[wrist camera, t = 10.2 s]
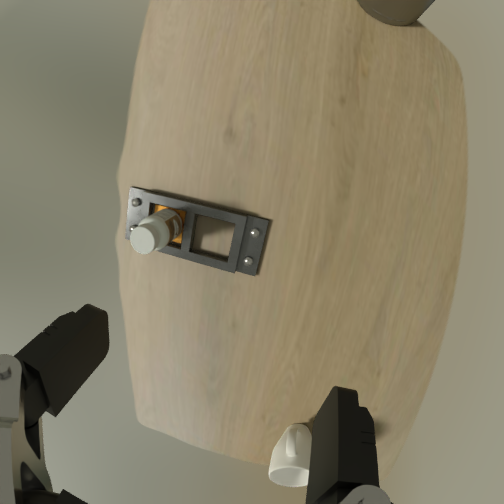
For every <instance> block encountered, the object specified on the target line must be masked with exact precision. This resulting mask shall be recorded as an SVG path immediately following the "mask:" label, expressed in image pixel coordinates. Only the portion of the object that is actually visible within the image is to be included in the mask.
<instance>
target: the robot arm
mask: <svg viewBox="0 0 504 504" xmlns="http://www.w3.org/2000/svg"><path fill="white" fill-rule="evenodd" d="M357 1H358V2H359V4H360V6H361V7H362V8H363V9H364V10H365V11H366V12H367V13H368V14H369V15H371V16H372V17H374V18H375V19H377V20H379V21H381V22H383V23H386V24H390V25H396V26H403V25H408V24H411V23H413V22H415V21H416V20H417V19H418V18H419V17H420V16H421V15H422V13H424V11H425V10H426V9H427V8H428V7H429V6H430V5H431V4H432V3H433V2H434V1H435V0H357ZM108 329H109V328H108V315H107V312H106V311H104V310H102V309H100V308H97V307H95V306H93V305H91V304H86V305H84V306H83V307H82V308H81V309H80V310H78V311H77V312H76V313H75V312H73V311H72V312H69V313H67V314H65V315H62V316H60V317H58V318H57V319H56V320H55V321H54V322H52V324H50V326H48V327H47V328H45V329H44V330H43V332H41V333H40V334H38V335H37V336H36V337H35V338H34V339H33V340H32V341H30V342H29V343H28V344H27V345H26V346H25V347H24V348H23V349H21V350H20V351H19V352H18V353H17V354H16V355H14V356H11V355H7V354H1V355H0V504H88V503H86V502H84V501H82V500H81V499H79V498H77V497H76V496H74V495H72V494H70V493H69V492H67V491H66V490H64V489H63V490H62V491H61V493H60V494H58V493H54V492H53V489H52V484H51V480H50V476H49V474H48V471H47V469H46V464H45V457H44V444H43V429H42V417H41V416H42V414H43V413H44V412H45V411H47V412H49V413H50V414H52V415H53V416H55V417H56V416H57V415H58V414H59V413H60V411H61V410H62V409H63V407H64V406H65V405H66V404H67V403H68V402H69V400H70V399H71V398H72V397H73V395H74V394H75V393H76V392H77V390H78V389H79V388H80V387H81V386H82V384H83V383H84V382H85V381H86V380H87V379H88V377H89V376H90V375H91V374H92V373H93V371H94V370H95V369H96V368H97V367H98V366H99V364H100V363H101V362H102V361H103V360H104V358H105V357H106V355H107V353H108V350H109V330H108ZM374 433H375V430H374V421H373V418H372V417H371V415H370V413H369V411H368V409H367V408H366V407H360V406H359V403H358V393H357V391H356V390H353V389H348V388H343V387H338V386H334V387H333V388H332V390H331V391H330V393H329V395H328V397H327V398H326V400H325V401H324V403H323V405H322V406H321V408H320V410H319V411H318V413H317V415H316V417H315V420H314V424H313V429H312V442H311V455H310V466H309V476H308V486H307V495H306V504H393V503H392V502H390V499H389V497H388V495H387V494H386V493H385V492H384V491H383V490H382V489H380V486H379V476H378V463H377V451H376V446H375V444H376V440H375V435H374Z"/></svg>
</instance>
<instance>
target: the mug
mask: <svg viewBox="0 0 504 504" xmlns="http://www.w3.org/2000/svg"><path fill="white" fill-rule="evenodd" d="M311 442H312V435H311V433H310V431H309V429H308V427H307V426H305V425H303V424H292V425H290V426H288V428H287V429H286V430H285V432H284V433H283V435H282V436H281V438H280V439H279V441H278V442H277V444H276V446H275V448H274V450H273V453H272V457H271V462H270V467H269V478H270V479H271V481H273V482H274V483H276V484H279V485H282V486H287V487H301V486H306V485H308V476H309V466H310V455H311Z"/></svg>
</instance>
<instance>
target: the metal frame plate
mask: <svg viewBox="0 0 504 504" xmlns="http://www.w3.org/2000/svg"><path fill="white" fill-rule="evenodd" d="M153 203H156V204H155V212H154V213H156V212H158V211H160V210H162V209H171V210H174V211H175V212H177V213H178V215H179V216H180V218H181V220H182V231H181V233H180V235H179V236H178V237H177V238H175V239H174V240H173V241H174V242H177V243H182V244H181V246H179V245H176V244H172V243H169V244H168V245H166V246H165V247H164V248H162V249H160V250H157V251H159V252H162V253H166V254H169V255H173V256H176V257H179V258H183V259H186V260H190V261H193V262H197V263H200V264H204V265H207V266H211V267H214V268H218V269H221V270H225V271H228V272H232V273H235V271H238V272H241V273H245V274H249V275H252V276H255V275H256V271H257V267H258V263H259V259H260V255H261V251H262V247H263V243H264V239H265V235H266V231H267V226H268V222H269V220H267V219H263V218H259V217H255V216H251V215H247V214H243V213H239V212H235V211H232V210H228V209H224V208H220V207H215V206H211V205H207V204H203V203H199V202H195V201H191V200H187V199H182V198H178V197H174V196H170V195H165V194H161V193H157V192H152V191H148V190H144V189H139V188H135V187H130V191H129V201H128V211H127V223H126V237H125V239H127V240H130V235H131V232H132V230H133V229H134V228H136V227H137V226H138V225H139V223H140V222H141V221H142V220H143V219H144V218H146V217H148V216H150V215H152V210H153ZM158 204H160V205H158ZM162 205H164V206H162ZM166 206H168V207H166ZM170 207H172V208H170ZM174 208H176V209H174ZM178 209H180V210H178ZM182 210H184V211H182ZM197 214H200V215H204V216H208V217H212V218H216V219H220V220H223V221H227V222H231V223H235V229H234V234H233V238H232V243H231V248H230V253H229V258H228V259H226V258H222V257H219V256H215V255H211V254H208V253H204V252H201V251H197V250H194V249H192V245H193V239H194V232H195V226H196V220H197ZM185 215H186V217H185ZM184 222H185V223H184ZM183 229H184V230H183ZM182 236H183V237H182Z"/></svg>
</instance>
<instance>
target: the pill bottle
mask: <svg viewBox="0 0 504 504" xmlns="http://www.w3.org/2000/svg"><path fill="white" fill-rule="evenodd" d="M181 231H182V220H181V218H180V216H179V215H178V213H177V212H175V211H174V210H171V209H162V210H160V211H158V212H156V213H154V214H152V215H150V216H148V217H146V218H144V219H143V220H142V221H141V222H140V223H139V225H138V226H137V227H136V228H134V229H133V230H132V232H131V235H130V241H131V244H132V247H133V248H134V249H135V250H136V251H137V252H138V253H140V254H149V253H151V252H152V251H157V250H160V249H162V248H164V247H165V246H166V245H168V244H169V243H170V242H171V241H173V240H174V239H175V238H177V237H178V236H179V235H180V233H181Z"/></svg>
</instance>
